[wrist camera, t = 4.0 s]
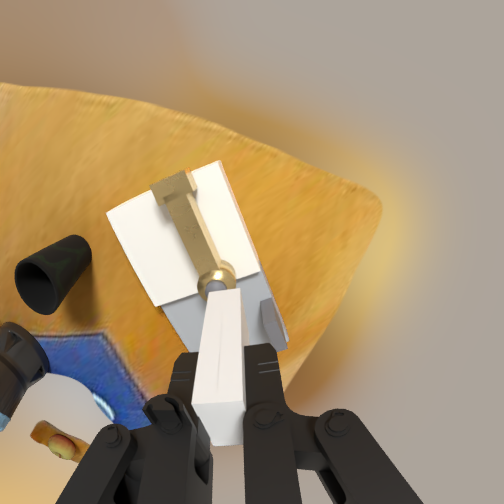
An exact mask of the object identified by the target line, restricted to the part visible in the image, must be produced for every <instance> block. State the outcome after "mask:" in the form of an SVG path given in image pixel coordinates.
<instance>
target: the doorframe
mask: <svg viewBox="0 0 504 504" xmlns="http://www.w3.org/2000/svg"><path fill="white" fill-rule="evenodd" d="M191 172H192V175H193V177H194V180H195V182H196V185H197V188H196V189H195V190H194V192H192V193H193V196H194V198H195V201H196V203H197V205H198V208H199V210H200V212H201V215H202V217H203V219H204V221H205V224H206V226H207V228H208V231H209V233H210V235H211V238H212V240H213V242H214V244H215V247H216V249H217V251H218V253H219V256H220V258H221V260H224V261H227V262H228V263H230V264H231V265H232V266H233V268H234V269H235V272H236V288H240V289H241V294H242V300H243V305H244V310H245V316H246V321H247V326H248V331H249V345H256V344H263V343H270V344H271V345H272V346H273V347H274V348H275V350H276V352H279V351H282V350H285V349H288V348H287V343H286V342H288V341H289V337H288V333H287V329H286V327H285V324H284V321H283V319H282V316H281V314H280V311H279V309H278V306H277V304H276V301H275V298H274V296H273V293H272V291H271V288H270V286H269V283H268V280H267V278H266V275H265V273H264V270H263V268H262V265H261V263H260V260H259V258H258V255H257V252H256V250H255V247H254V245H253V242H252V240H251V237H250V234H249V232H248V229H247V227H246V224H245V222H244V219H243V217H242V214H241V212H240V209H239V207H238V204H237V201H236V199H235V196H234V194H233V191H232V189H231V186H230V184H229V181H228V179H227V176H226V174H225V171H224V169H223V166H222V164H221V161H220V160H218V161H216V162H213V163H211V164H208V165H206V166H203V167H201V168H198V169H196V170H194V171H191ZM106 214H107V217H108V219H109V221H110V223H111V225H112V227H113V229H114V231H115V233H116V235H117V237H118V239H119V241H120V243H121V245H122V247H123V249H124V251H125V253H126V255H127V257H128V259H129V261H130V263H131V265H132V266H133V268H134V270H135V272H136V274H137V276H138V277H139V279H140V281H141V283H142V285H143V286H144V288H145V290H146V292H147V293H148V295H149V297H150V299H151V300H152V302H153V304H154V305H155V307H156V306H159V305H161V307H162V309H163V310H164V312H165V314H166V315H167V317H168V319H169V320H170V322H171V324H172V325H173V327H174V328H175V330H176V332H177V333H178V335H179V336H180V338H181V339H182V341H183V343H184V344H185V346H186V347H187V349H188V350H189V352H199V349H200V342H201V336H202V330H203V324H204V318H205V312H206V306H207V302H206V301H205V300H203V299H202V298H201V296H200V295H199V293H198V290H197V283H198V279H199V275H198V273H197V271H196V269H195V266H194V264H193V262H192V260H191V258H190V256H189V254H188V252H187V250H186V248H185V246H184V244H183V241H182V239H181V237H180V235H179V233H178V231H177V228H176V226H175V224H174V222H173V220H172V218H171V215H170V213H169V211H168V209H167V206H166V204H163V205H161V206H158V204H157V202H156V200H155V197H154V195H153V193H152V191H151V190H149V191H147V192H145V193H143V194H140V195H138V196H136V197H134V198H132V199H130V200H128V201H126V202H124V203H122V204H120V205H118V206H117V207H115V208H114V209H112V210H110V211H109V212H107V213H106ZM222 290H227V286H226V284H225V283H224V282H222V281H220V280H212V281H210V282H208V283H207V285H206V288H205V295H206V297H207V298H208V294H209V292H214V291H222Z"/></svg>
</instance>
